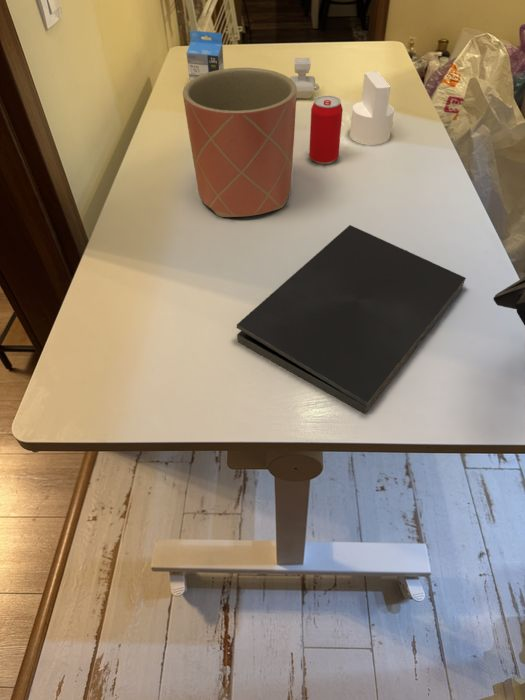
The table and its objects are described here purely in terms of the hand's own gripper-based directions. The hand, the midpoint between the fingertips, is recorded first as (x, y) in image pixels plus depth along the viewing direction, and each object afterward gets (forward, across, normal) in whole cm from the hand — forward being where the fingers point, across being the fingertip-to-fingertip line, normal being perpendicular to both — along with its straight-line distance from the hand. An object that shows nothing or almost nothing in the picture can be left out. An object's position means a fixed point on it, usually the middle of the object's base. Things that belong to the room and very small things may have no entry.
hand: (495, 300), depth 61 cm
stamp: (+59, -62, -41) cm, 95 cm away
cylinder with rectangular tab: (+41, -53, -23) cm, 71 cm away
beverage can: (+43, -38, -25) cm, 62 cm away
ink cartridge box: (+76, -53, -59) cm, 110 cm away
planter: (+46, -16, -28) cm, 56 cm away
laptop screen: (+20, 0, -5) cm, 21 cm away
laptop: (+22, 0, -4) cm, 22 cm away
